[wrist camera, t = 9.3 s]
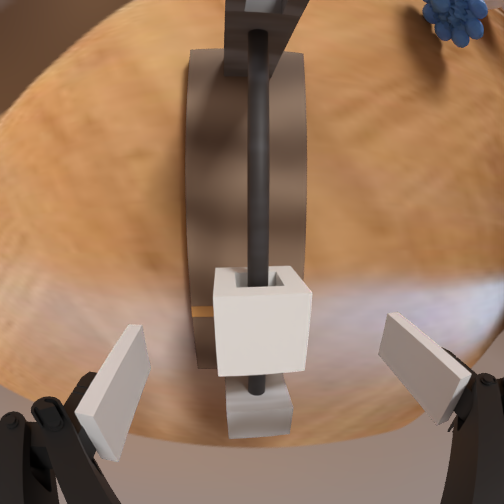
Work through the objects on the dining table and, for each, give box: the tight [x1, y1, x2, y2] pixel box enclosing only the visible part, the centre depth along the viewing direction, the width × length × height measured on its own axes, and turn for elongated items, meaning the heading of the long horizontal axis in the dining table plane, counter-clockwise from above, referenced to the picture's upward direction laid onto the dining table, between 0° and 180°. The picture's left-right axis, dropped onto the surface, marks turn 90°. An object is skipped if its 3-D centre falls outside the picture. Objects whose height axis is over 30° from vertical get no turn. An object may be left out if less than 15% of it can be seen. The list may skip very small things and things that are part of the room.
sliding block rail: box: [185, 0, 309, 439], centre depth 17 cm, size 30×10×14 cm, turn 0°
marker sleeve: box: [213, 266, 312, 377], centre depth 17 cm, size 5×5×5 cm
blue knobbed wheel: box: [422, 0, 488, 48], centre depth 14 cm, size 12×7×12 cm, turn 24°
